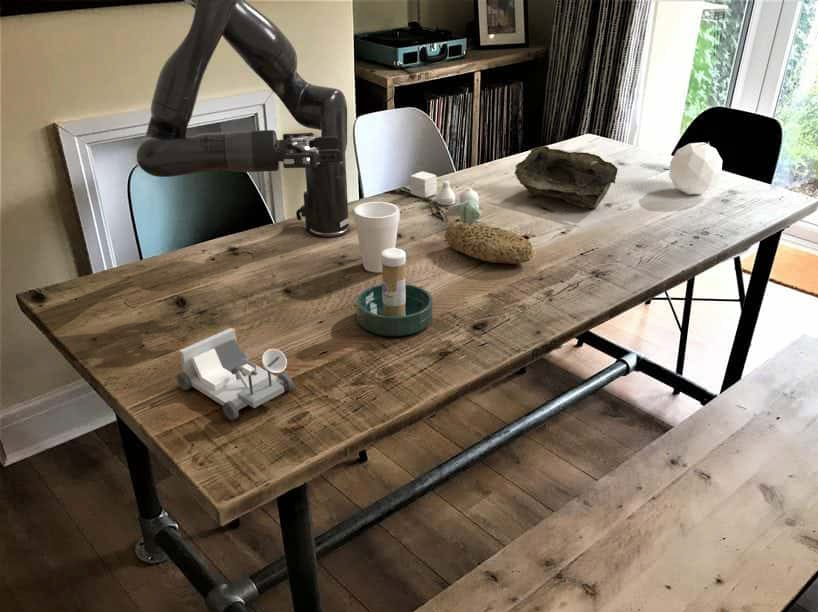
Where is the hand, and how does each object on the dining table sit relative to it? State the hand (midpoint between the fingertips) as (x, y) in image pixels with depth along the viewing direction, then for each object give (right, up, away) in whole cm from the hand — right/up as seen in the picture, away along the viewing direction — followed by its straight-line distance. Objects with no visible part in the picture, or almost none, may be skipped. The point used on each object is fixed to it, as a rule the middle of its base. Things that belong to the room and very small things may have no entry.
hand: (338, 148), depth 151 cm
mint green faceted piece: (+25, -9, +42) cm, 50 cm away
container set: (+19, 0, +56) cm, 59 cm away
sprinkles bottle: (+11, -32, 0) cm, 34 cm away
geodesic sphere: (+87, +5, +68) cm, 111 cm away
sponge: (+30, -18, +27) cm, 44 cm away
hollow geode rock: (+51, 0, +58) cm, 77 cm away
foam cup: (+5, -21, +21) cm, 30 cm away
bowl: (+11, -33, 0) cm, 35 cm away
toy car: (-13, -45, -22) cm, 52 cm away
